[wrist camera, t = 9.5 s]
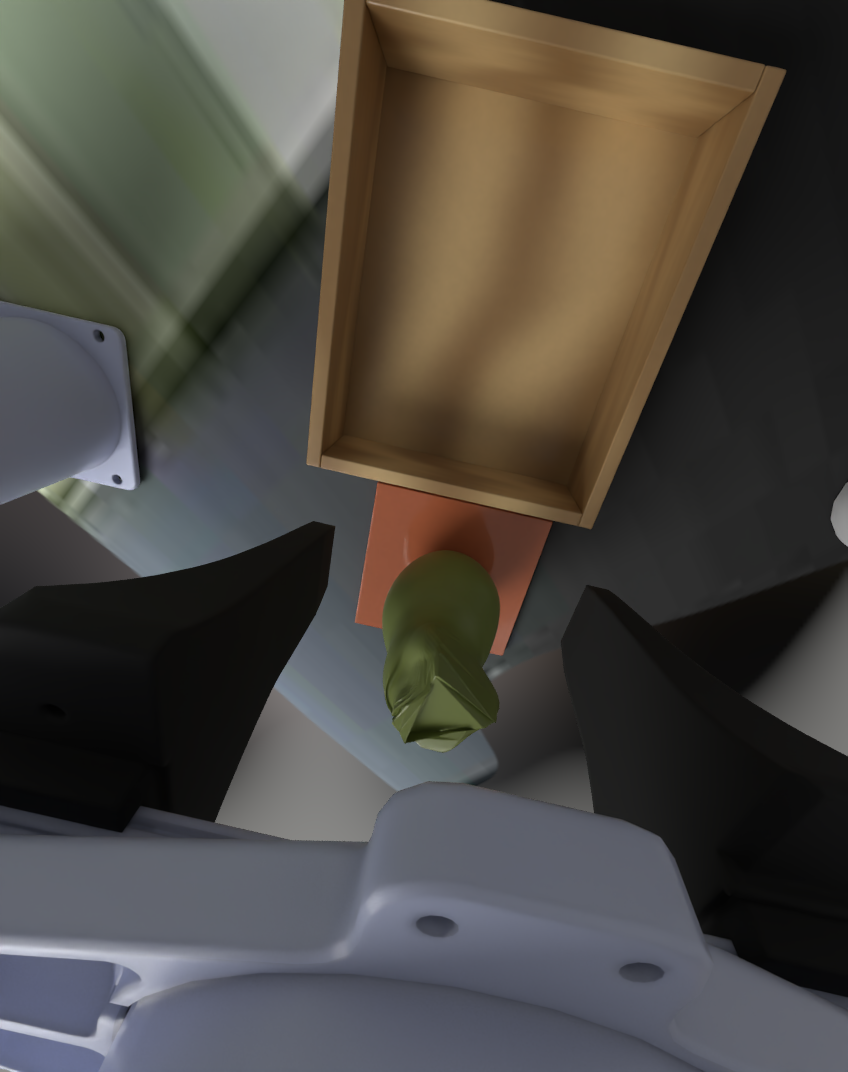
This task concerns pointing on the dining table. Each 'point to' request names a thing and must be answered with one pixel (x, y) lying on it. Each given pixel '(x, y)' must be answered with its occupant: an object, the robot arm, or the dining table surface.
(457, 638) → the pear
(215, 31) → the dining table surface
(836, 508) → the bottle
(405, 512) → the coaster
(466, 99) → the wooden shallow box
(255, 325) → the dining table surface
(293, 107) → the dining table surface
